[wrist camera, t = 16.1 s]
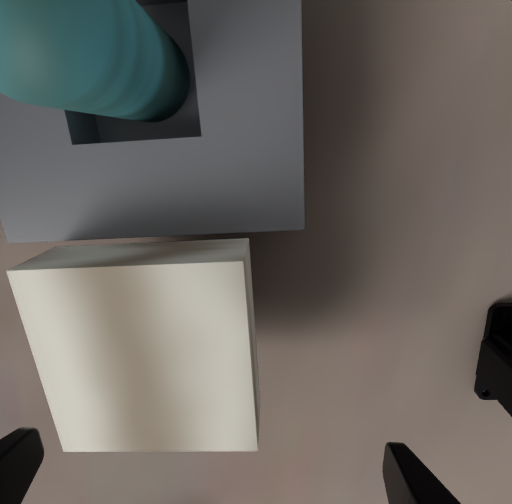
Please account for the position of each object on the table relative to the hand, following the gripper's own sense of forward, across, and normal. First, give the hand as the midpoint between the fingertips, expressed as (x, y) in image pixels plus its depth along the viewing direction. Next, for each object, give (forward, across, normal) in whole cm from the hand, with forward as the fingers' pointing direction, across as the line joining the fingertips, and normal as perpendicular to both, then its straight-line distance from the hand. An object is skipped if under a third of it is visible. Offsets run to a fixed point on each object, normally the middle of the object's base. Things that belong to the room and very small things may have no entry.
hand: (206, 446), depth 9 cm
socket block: (+12, +4, -10) cm, 16 cm away
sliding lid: (+8, +4, +1) cm, 9 cm away
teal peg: (+10, +4, -10) cm, 15 cm away
